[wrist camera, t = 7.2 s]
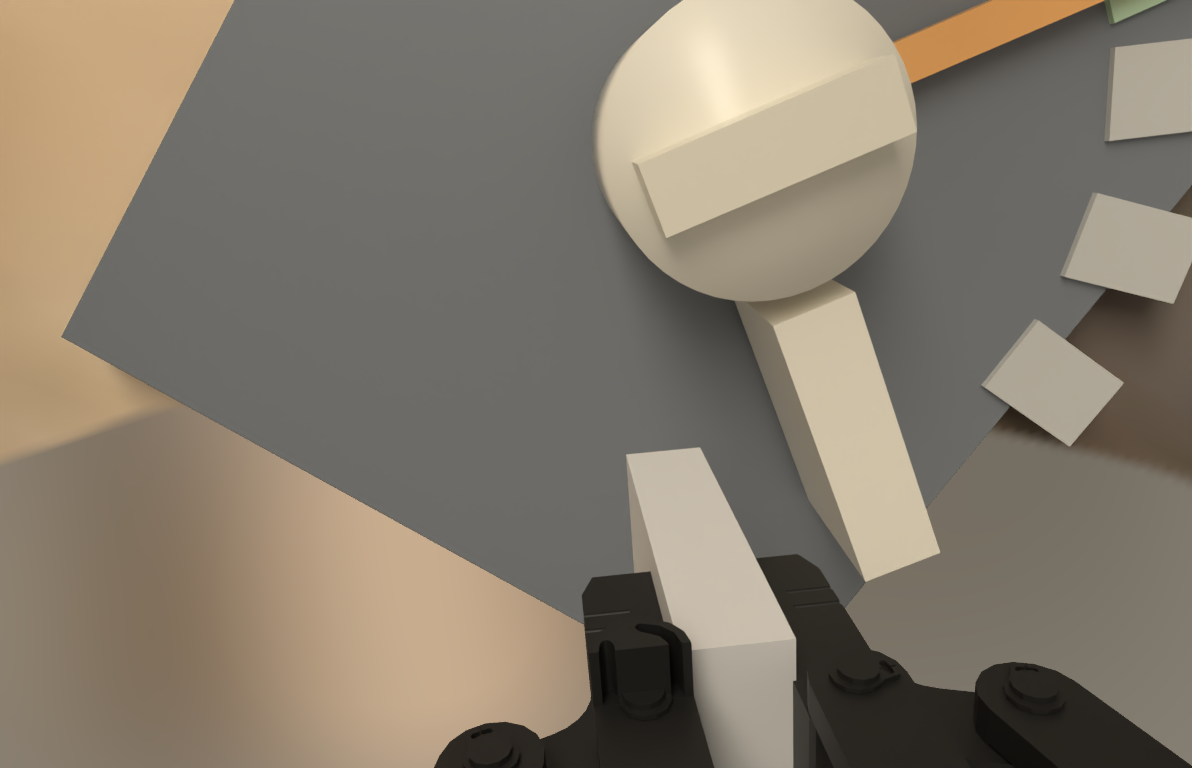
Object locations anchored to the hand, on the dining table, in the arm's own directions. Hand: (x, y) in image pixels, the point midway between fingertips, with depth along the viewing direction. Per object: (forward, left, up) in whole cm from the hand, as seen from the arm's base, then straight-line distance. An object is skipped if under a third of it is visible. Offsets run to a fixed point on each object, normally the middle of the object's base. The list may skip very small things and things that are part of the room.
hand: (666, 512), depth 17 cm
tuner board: (-1, +7, -7) cm, 10 cm away
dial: (+3, +9, -6) cm, 11 cm away
